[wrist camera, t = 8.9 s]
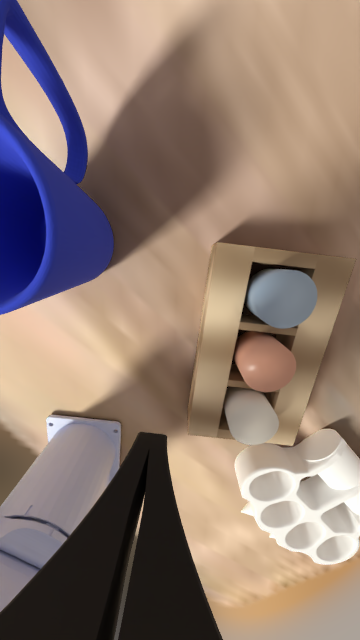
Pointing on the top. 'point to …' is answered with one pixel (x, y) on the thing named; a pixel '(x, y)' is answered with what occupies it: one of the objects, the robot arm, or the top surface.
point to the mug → (44, 191)
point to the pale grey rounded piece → (249, 415)
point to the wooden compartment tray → (226, 318)
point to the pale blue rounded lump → (281, 297)
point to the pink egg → (263, 361)
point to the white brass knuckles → (305, 494)
